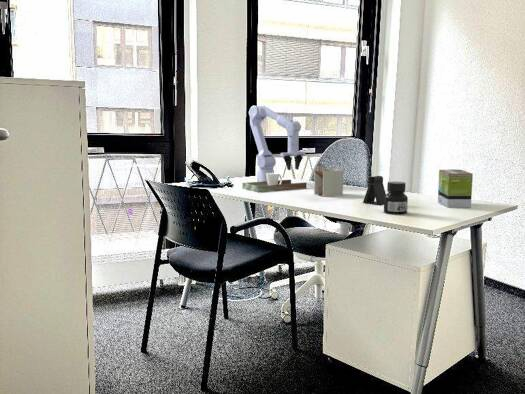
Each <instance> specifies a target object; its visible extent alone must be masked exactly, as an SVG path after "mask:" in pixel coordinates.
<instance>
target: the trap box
mask: <svg viewBox="0 0 525 394" xmlns="http://www.w3.org/2000/svg"><path fill="white" fill-rule="evenodd" d="M307 183H308V182H296V183H292V179H282V183H281V184H280V179H278V184H277V185H268V183H267V181H263V182H257V181H252V182H251V181H250V182H242V189H243V190H247V191H250V192H255V193H265V192H278V191H279V192H280V191H290V190H301V189H302V190H304V189H307V188H308V187H307Z"/></svg>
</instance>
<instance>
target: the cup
mask: <svg viewBox="0 0 525 394" xmlns="http://www.w3.org/2000/svg"><path fill="white" fill-rule="evenodd" d="M266 177H267V183H268V185H277V184H278V180H280V184H281V183H282V180H283V178H282V176H281V174H280V173H279V172H273V173H266ZM279 178H280V179H279Z"/></svg>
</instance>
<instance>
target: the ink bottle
mask: <svg viewBox="0 0 525 394" xmlns="http://www.w3.org/2000/svg"><path fill="white" fill-rule="evenodd" d="M406 183H407V182H405V181H388V182H387V185H386V186H387V187H386V188H387V190H386V191H387V193H386V195H385V196H384V205H383V212H384V213H385V214H390V215H406V214H407V213H408V204H409V203H408V202H409V201H408V200H409V199H408V196H407V194H406V193H405V192H406V187H407V186H406Z"/></svg>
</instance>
